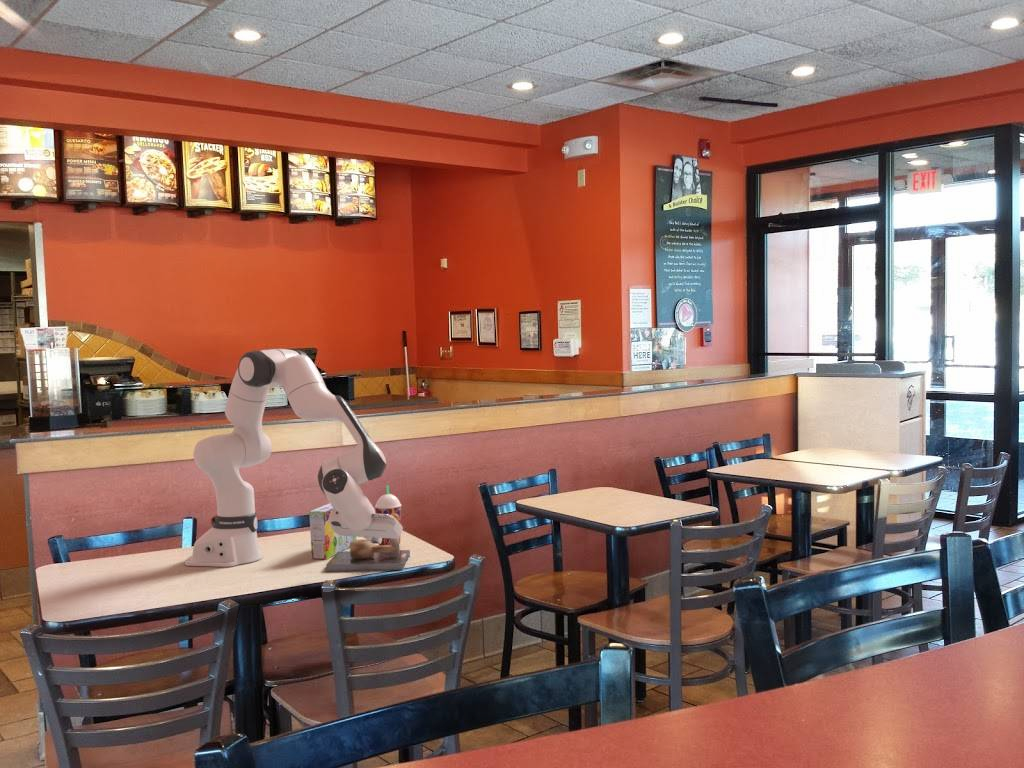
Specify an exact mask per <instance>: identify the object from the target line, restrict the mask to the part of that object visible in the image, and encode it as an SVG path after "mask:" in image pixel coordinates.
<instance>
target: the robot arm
mask: <svg viewBox="0 0 1024 768" xmlns="http://www.w3.org/2000/svg"><path fill="white" fill-rule="evenodd" d="M237 366H238V367H237V369H236V371H235V375H234V377H233V379H232V382H231V385H230V389H229V393H228V396H227V400H226V404H225V408H224V415H225V417H226V419H227V420H228V421H229V422H230V423H231V424H233V430H232V431H231V433H224V434H215V435H211V436H208V437H204V438H202V439H200V440H198V442H197V443H196V444H195V446H194V449H193V460H194V463H195V464H196V466H197V467H198V468H199V469H200V471H202V472H203V473H205V474H206V475H207V476H208V478H209V479H210V480H211V483H212V485H213V488H214V491H215V497H216V498H215V499H216V510H217V511H216V512H217V513H216V514H214V516H212V517H211V518H210V520H209V524H211V528H209V529H208V530H207V531H206V532H205V533H204V534H202V535H201V536H200V537H199V538H198V539H197V540H195V542H194V544H193V547H192V548H193V549H192V555H190V556H188V557H187V558H186V559H185V561H184V564H185V566H188V567H189V566H190V567H191V566H193V567H221V568H226V567H227V568H228V567H229V568H230V567H234V566H237V565H238V566H239V565H243V564H249V563H254V562H256V561H259V560H261V559H262V558H263V555H262V551H261V549H260V544H259V540H258V539H259V538H258V534H257V531H258V518H257V517H258V516H257V511H256V506H255V504H256V503H255V490H254V489H255V488H254V487H253V485H252V484H251V483H249V482H248V481H246V480H243V478H242V476H241V473H240V469H243V468H249V467H254V466H257V465H260V464H261V463H264V462H265V461H267V460H269V458H270V456H271V454H272V449H273V446H272V442H271V439H270V437H269V436H268V435H267V434H266V433H265V431H264V429H263V417H264V413H265V408H266V403H267V400H268V396H269V393H270V392H269V391H270V388H278V387H282V388H283V389H284V392H285V394H286V397H287V400H288V402H289V405H290V408H292V409H291V410H292V411H293V412H294V414H295V415H296V416H297V417H298V418H301V420H304V421H310V422H326V421H328V422H329V421H337V422H341V423H343V424H344V426H345V427H346V429H347V430H348V432H349V433H350V435H351V436H352V438H353V440H354V441H355V443H356V447H355V448H353V449H351V450H349V451H347V452H345V453H343V454H342V453H341V454H339V455H337V456H334V457H333V458H331V459H329V460H327V461H325V462H324V463H322V464H321V465H320V467H319V470H318V472H317V481H318V485H319V488H320V490H321V492H322V493H323V495H324V496H325V497H326V498H327V500H328V503H330V504H331V505H332V507H333V509H332V511H331V513H330V516H329V519H328V523H329V524H330V525H331V527H332V529H333V530H334V532H335V533H336V534H338V535H341V536H356V538H357V537H358V538H364V540H369V541H370V542H371V543H374V544H375V545H376V544H377V545H379V544H381V542H382V538H390V539H398V538H399V537H400V538H401V535H402V533H403V529H404V527H403V525H402V523H401V524H400V523H399V522H398V521H397V519H396V518H395V517H393V516H392V515H389V514H376V508H375V507H374V506H373V504H372V503H371V502H370V500H369V498H368V497H367V496H365V494H364V492H363V490H362V488H361V487H360V485H362V484H365V483H367V482H369V481H373V480H376V479H378V478H381V477H382V476H383V474H384V472H385V471H386V469H387V465H388V464H387V459H386V456H385V454H384V453H383V451H382V449H381V448H380V447H379V446H378V445H377V444H376V443H375V442H374V441H373V439H372V438H371V436H370V435H369V433H368V432H367V430H366V429H365V427H364V426H363V424H362V423H361V421H360V420H359V417H357V415H356V413H355V412H354V411H353V409H352V408H351V406H350V405H349V403H348V402H347V401H346V400H345V399H344V398H343V397H342V396H341V395H335V394H333V393H332V392H331V391H330V390H329V389H328V388H327V385H326V383H325V380H324V379H323V376H322V375H321V373H320V371H319V370H318V369H319V368H317V366H316V364H315V363H314V362H313V360H312V359H311V358H310V357H309V355H307V353H305V351H302V350H298V349H293V348H292V349H288V348H287V349H286V348H272V349H271V348H270V349H262V350H259V349H255V350H251V351H247V352H245V353H244V354H243V355H242V356H241V357H240V359H239V362H238V365H237Z"/></svg>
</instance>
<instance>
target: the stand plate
mask: <svg viewBox="0 0 1024 768" xmlns="http://www.w3.org/2000/svg"><path fill="white" fill-rule="evenodd" d="M410 557H411V552H410V549H400V554H397V555H393V554H391V552H374V556H372V557H369V558H361V559H358V558H351V557H350V550H348V551H345V550H344V551H342V552H337V553H336V554H335V555H334V556H332V557H331V559H330V560H329V561H328V562H327V563H326V564H325V567H326V572H329V573H330V572H362V571H364V572H367V571H368V572H370V571H371V572H372V571H403V570H404V568H405V566H406V565H405V564H407V563H406V562H408V561H409V559H410ZM408 558H409V559H408Z"/></svg>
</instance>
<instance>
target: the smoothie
mask: <svg viewBox="0 0 1024 768" xmlns="http://www.w3.org/2000/svg"><path fill="white" fill-rule="evenodd" d="M374 509H375V514H389V515H391V514H393V513H396V514H398V515H399V523H400V524H401V525H402V503H401V501H400V500H399V498H398V497H397V496H396V495H394V494H392V493H390V488H389V485H386V494H383V495H380V497H379V498H378V499H377V501H376V504H375V506H374ZM400 544H401V536H400V537H399V545H400ZM378 545H391V539H390V538H382V542H381V544H378Z"/></svg>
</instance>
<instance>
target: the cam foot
mask: <svg viewBox="0 0 1024 768" xmlns="http://www.w3.org/2000/svg"><path fill="white" fill-rule="evenodd" d="M391 515H392V516H393V517H395V518H396V519H397V521H398V522H399V515H398V514H396V513H393V514H391ZM400 550H401V549H400V544H399V538H398V539H391V545H379V544H377V545H376V544H375V543H371V542H370V541H369V540H367V539H356V541H352V542H350V547H349V551H350V557H351V558H358V559H361V558H369V557H372V556H374V552H391V554H393V555H397V554H400Z"/></svg>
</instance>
